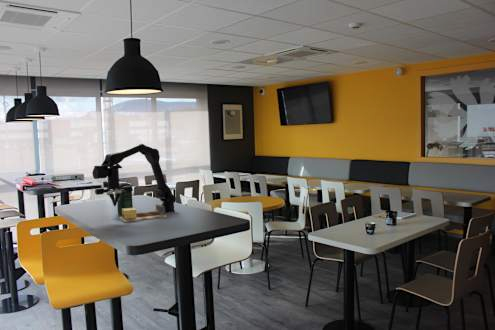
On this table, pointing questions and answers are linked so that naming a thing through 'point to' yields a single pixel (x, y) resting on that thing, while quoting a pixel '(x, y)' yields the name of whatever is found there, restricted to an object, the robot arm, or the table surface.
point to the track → (147, 214)
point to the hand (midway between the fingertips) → (114, 206)
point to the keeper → (129, 213)
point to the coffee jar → (124, 199)
